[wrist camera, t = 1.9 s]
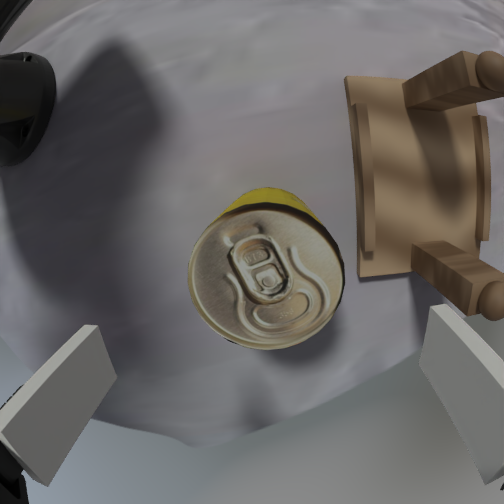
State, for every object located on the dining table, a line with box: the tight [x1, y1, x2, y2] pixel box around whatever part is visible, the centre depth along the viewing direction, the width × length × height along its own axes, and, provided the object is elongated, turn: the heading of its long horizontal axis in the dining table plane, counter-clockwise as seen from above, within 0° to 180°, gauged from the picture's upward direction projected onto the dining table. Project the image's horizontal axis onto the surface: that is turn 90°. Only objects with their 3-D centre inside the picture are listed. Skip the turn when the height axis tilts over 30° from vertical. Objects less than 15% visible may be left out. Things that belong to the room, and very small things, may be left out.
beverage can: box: [188, 187, 345, 350], centre depth 22 cm, size 9×9×12 cm
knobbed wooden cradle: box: [344, 51, 504, 321], centre depth 19 cm, size 19×15×14 cm
